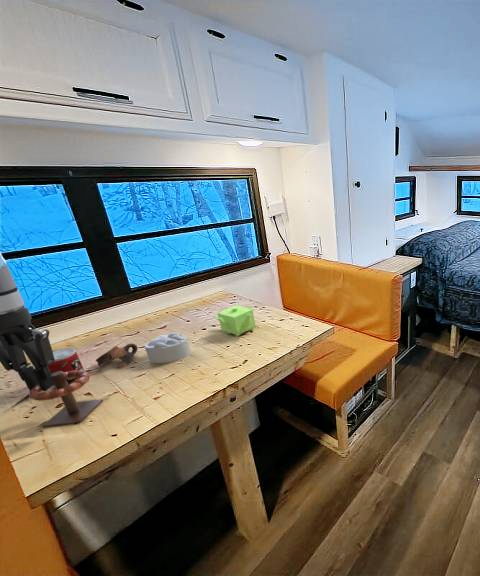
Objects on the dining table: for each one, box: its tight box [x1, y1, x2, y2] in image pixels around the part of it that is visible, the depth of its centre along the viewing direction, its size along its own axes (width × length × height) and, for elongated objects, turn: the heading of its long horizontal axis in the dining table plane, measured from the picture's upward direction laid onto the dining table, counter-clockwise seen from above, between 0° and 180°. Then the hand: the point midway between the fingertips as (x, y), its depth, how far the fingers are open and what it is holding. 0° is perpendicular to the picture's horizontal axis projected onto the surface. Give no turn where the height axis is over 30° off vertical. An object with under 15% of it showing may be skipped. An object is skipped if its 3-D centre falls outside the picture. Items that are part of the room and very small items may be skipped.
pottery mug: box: [95, 343, 138, 369], centre depth 111 cm, size 12×10×8 cm
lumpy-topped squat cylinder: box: [144, 331, 192, 364], centre depth 114 cm, size 10×13×9 cm
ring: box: [28, 370, 91, 402], centre depth 84 cm, size 12×12×2 cm
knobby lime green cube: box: [214, 305, 256, 337], centre depth 132 cm, size 15×14×11 cm
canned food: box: [48, 347, 85, 387], centre depth 100 cm, size 8×8×11 cm
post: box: [42, 371, 104, 428], centre depth 85 cm, size 9×9×14 cm
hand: (42, 388), depth 83 cm, fingers closed on ring, 2 cm apart
